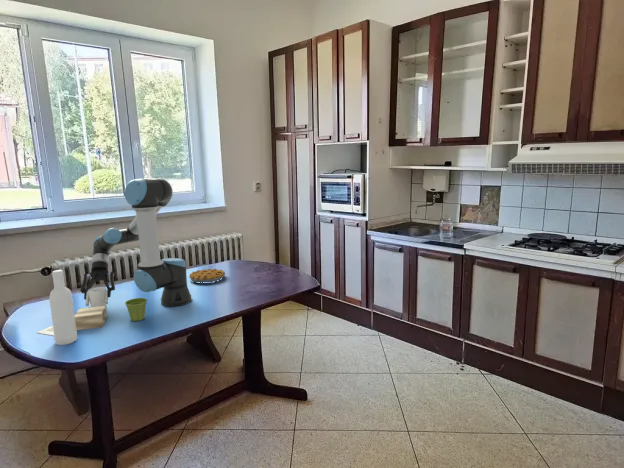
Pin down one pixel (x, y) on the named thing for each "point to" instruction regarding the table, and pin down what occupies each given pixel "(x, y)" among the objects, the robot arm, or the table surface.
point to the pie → (207, 275)
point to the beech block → (90, 317)
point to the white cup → (97, 296)
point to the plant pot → (136, 308)
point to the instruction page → (47, 331)
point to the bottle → (62, 311)
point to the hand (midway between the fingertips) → (96, 304)
